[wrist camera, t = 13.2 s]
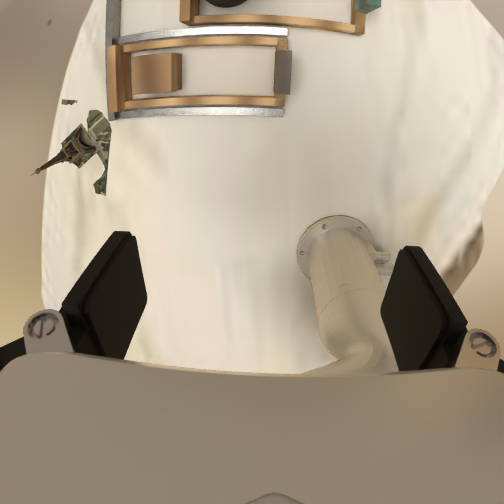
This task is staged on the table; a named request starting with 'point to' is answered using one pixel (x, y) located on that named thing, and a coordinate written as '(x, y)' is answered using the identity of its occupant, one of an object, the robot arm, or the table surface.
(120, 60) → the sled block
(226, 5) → the travel mug
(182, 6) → the brown low piece
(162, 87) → the walnut block
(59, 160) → the eiffel tower figurine
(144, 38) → the lane frame
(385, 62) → the table surface
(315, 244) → the robot arm
